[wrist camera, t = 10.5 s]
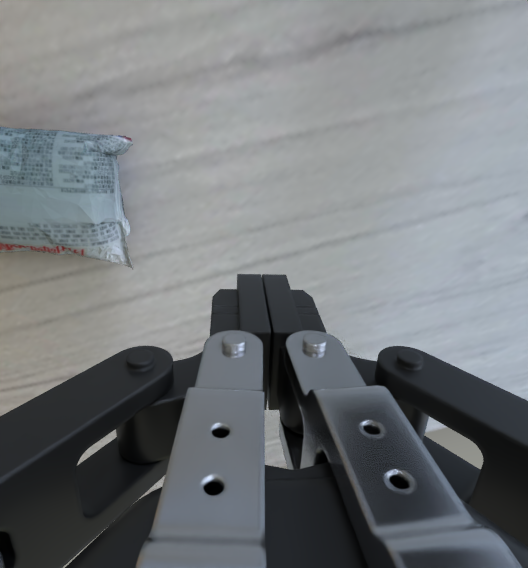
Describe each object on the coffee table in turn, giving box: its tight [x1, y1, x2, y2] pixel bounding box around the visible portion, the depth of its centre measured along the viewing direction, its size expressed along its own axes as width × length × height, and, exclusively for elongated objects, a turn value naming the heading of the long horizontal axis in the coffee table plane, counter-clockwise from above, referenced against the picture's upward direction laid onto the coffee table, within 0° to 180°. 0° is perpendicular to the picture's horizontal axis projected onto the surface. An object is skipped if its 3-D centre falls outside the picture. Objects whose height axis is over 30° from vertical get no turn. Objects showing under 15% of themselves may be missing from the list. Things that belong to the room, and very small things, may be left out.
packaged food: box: [0, 127, 133, 269], centre depth 27 cm, size 9×12×5 cm
